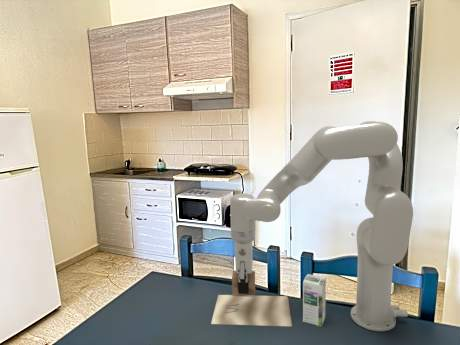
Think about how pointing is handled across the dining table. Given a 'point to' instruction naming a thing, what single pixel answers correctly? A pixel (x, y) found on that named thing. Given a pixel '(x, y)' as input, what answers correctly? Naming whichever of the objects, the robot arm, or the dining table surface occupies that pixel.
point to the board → (252, 310)
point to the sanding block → (250, 279)
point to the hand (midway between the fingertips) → (243, 287)
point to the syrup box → (314, 299)
